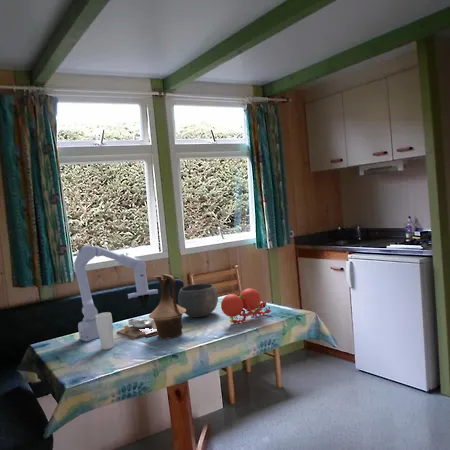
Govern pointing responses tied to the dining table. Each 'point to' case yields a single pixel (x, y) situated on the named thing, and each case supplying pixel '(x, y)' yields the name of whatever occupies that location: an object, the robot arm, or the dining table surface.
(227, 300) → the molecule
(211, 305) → the bowl
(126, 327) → the dowel
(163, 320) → the pitcher
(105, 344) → the drinking glass
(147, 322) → the flange
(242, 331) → the dining table surface
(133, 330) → the board
